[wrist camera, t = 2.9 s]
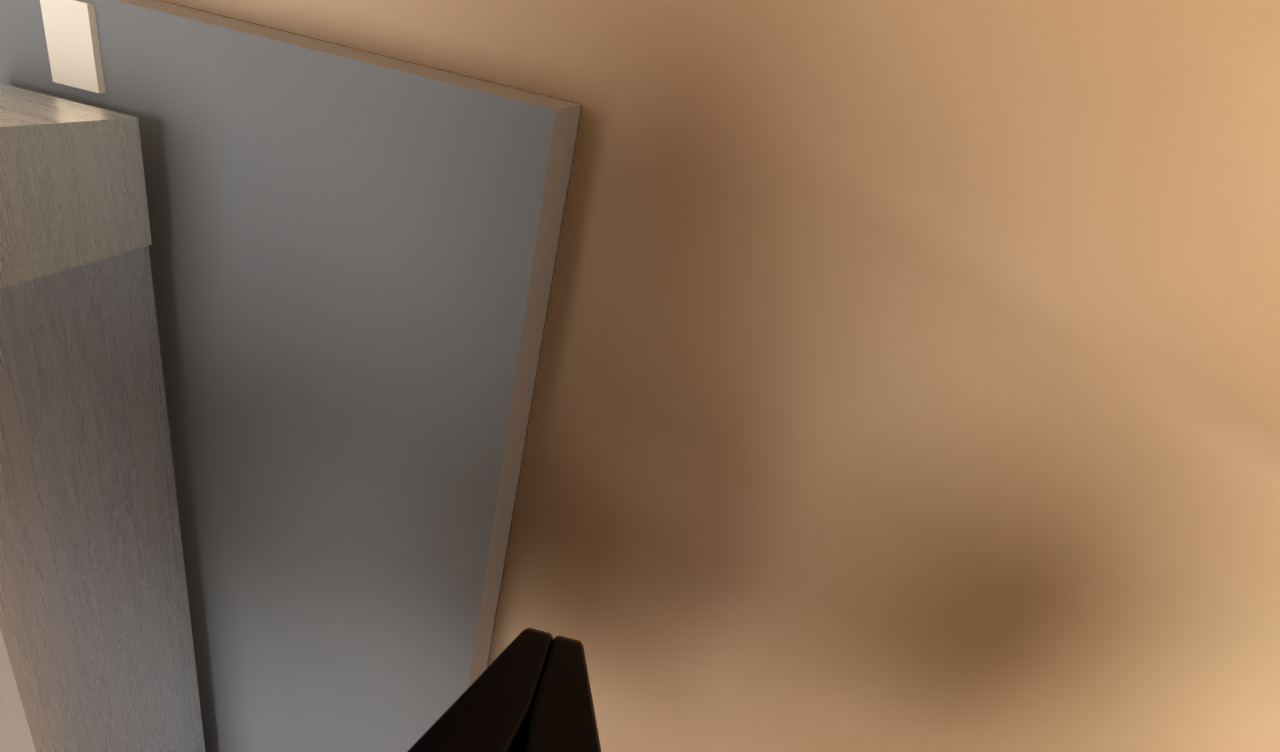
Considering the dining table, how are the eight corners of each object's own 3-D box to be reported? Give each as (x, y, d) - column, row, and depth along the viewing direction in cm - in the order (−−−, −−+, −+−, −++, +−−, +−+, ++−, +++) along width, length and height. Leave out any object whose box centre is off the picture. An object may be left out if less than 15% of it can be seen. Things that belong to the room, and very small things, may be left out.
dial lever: (282, 924, 16) (194, 1092, 13) (84, 872, 16) (-43, 1029, 13) (252, 146, 8) (19, 180, 5) (-141, 48, 8) (-566, 33, 5)
